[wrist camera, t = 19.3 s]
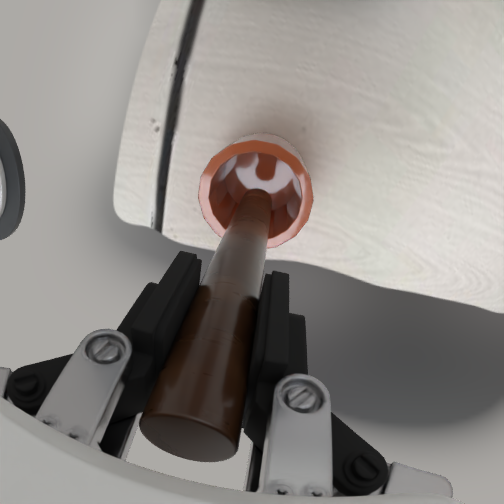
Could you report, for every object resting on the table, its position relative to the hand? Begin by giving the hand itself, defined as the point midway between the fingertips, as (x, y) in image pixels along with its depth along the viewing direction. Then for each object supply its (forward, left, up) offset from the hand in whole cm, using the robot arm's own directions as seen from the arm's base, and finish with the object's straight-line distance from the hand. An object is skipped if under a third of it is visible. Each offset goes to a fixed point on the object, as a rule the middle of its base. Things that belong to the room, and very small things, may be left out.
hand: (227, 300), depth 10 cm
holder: (0, 0, -19) cm, 19 cm away
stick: (0, -1, -13) cm, 13 cm away
